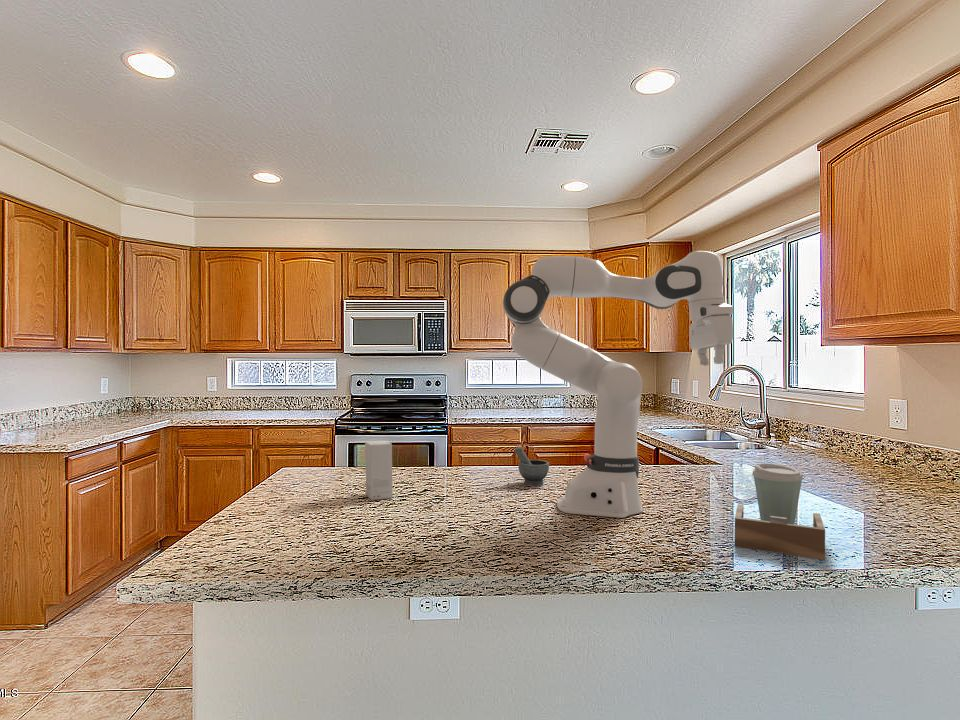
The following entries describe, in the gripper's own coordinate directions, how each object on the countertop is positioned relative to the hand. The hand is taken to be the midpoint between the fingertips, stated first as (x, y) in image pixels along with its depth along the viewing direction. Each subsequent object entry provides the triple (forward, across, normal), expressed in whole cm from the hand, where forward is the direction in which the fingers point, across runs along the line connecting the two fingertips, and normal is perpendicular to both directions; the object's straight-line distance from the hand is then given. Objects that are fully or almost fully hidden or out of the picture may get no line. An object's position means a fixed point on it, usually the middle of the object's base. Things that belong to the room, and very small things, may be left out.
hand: (711, 364), depth 143 cm
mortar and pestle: (+34, -32, -47) cm, 66 cm away
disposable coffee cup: (+40, +12, +7) cm, 43 cm away
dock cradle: (+40, +21, +3) cm, 46 cm away
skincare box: (+32, -13, -92) cm, 99 cm away
